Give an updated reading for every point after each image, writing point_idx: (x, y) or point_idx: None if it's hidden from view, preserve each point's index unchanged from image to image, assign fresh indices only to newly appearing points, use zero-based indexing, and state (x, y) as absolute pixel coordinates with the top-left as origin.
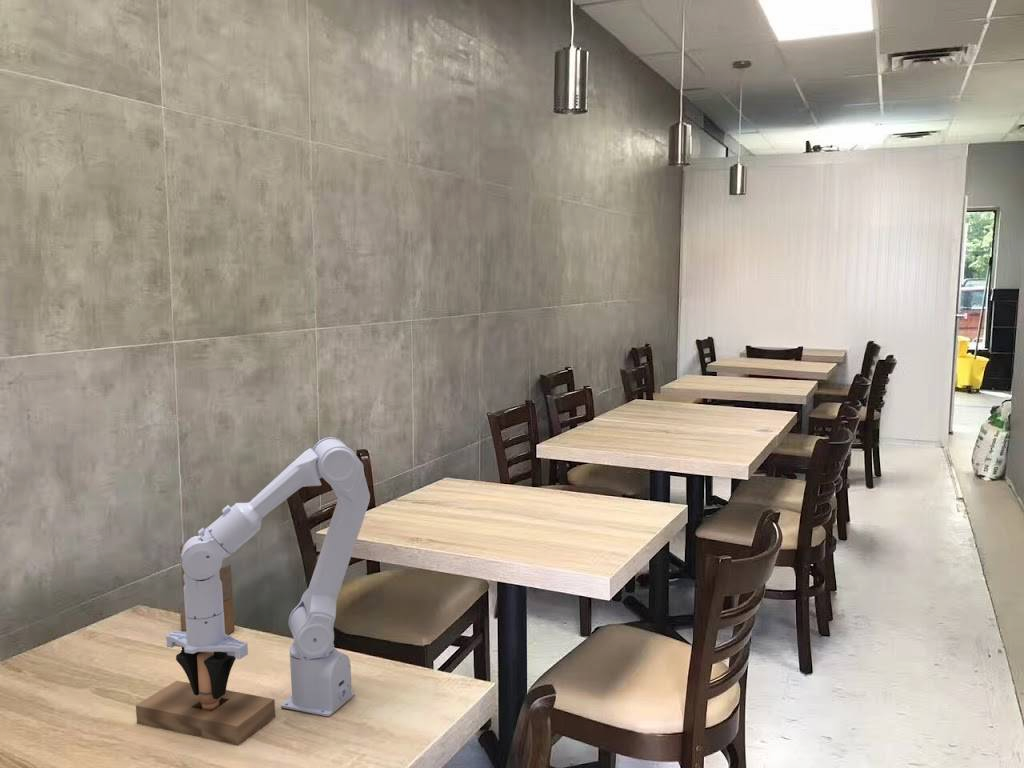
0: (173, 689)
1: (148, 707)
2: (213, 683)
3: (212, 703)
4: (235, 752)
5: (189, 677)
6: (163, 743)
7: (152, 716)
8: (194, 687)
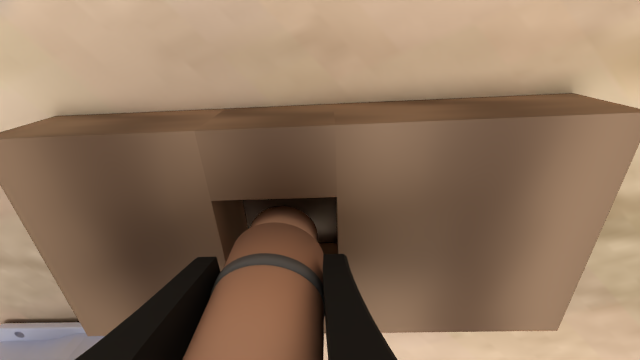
0: (528, 281)
1: (559, 120)
2: (131, 328)
3: (236, 240)
4: (13, 71)
5: (358, 336)
6: (338, 2)
7: (505, 106)
8: (326, 282)
